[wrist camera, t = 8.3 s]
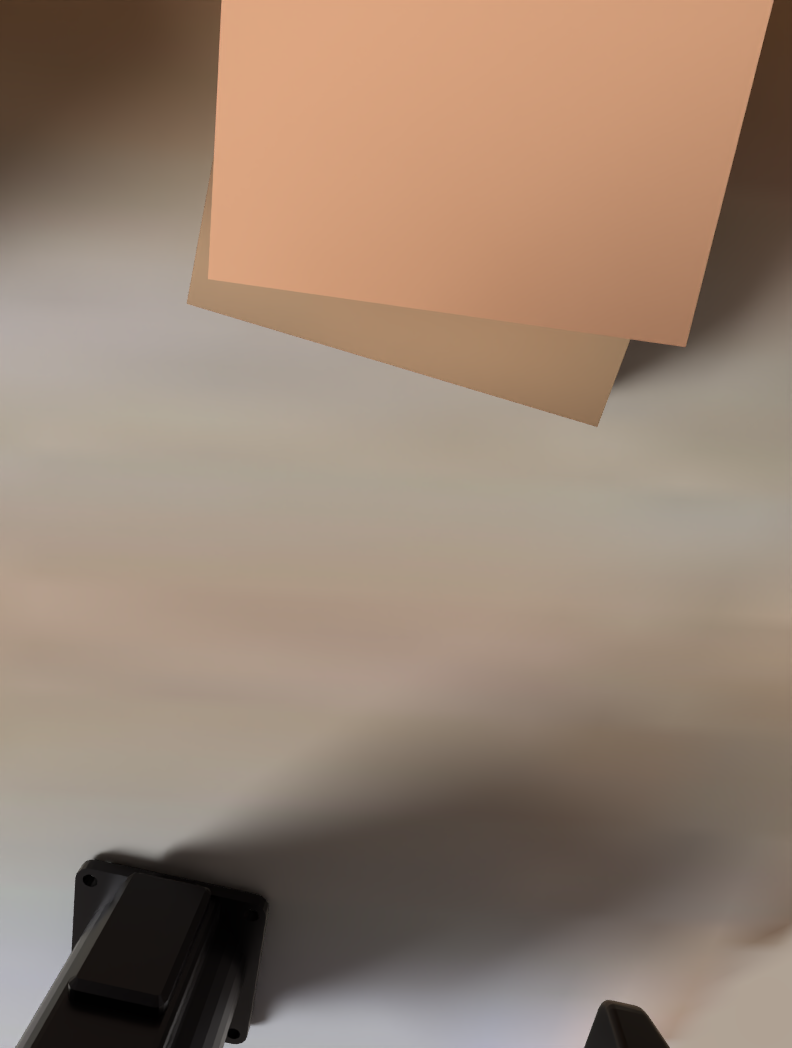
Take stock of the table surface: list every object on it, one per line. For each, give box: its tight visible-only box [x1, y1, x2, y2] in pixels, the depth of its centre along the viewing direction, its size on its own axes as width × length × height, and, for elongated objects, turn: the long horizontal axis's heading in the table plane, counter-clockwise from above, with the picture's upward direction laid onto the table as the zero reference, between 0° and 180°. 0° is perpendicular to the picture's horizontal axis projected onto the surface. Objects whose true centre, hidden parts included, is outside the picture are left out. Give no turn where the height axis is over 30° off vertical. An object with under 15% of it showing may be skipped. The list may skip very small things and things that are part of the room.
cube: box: [208, 0, 774, 347], centre depth 11 cm, size 6×6×6 cm
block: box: [187, 157, 630, 427], centre depth 16 cm, size 9×9×4 cm
